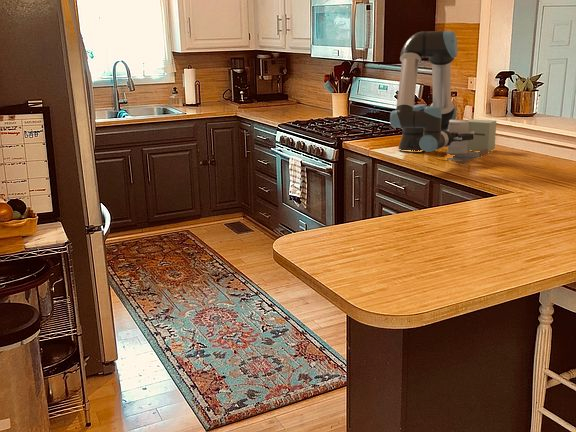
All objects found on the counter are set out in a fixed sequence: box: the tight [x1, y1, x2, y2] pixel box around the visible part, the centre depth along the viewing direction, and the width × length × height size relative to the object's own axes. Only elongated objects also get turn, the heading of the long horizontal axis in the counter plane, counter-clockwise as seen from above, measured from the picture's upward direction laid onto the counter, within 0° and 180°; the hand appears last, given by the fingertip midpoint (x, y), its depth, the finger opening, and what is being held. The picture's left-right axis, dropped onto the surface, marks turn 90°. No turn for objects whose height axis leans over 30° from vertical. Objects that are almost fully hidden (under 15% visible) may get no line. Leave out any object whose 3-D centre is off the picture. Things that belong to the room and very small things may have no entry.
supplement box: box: [446, 119, 469, 154], centre depth 298 cm, size 9×9×15 cm
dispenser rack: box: [445, 118, 497, 159], centre depth 312 cm, size 24×16×15 cm
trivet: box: [447, 155, 477, 163], centre depth 301 cm, size 14×14×1 cm
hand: (461, 133), depth 300 cm, fingers closed on supplement box, 11 cm apart
